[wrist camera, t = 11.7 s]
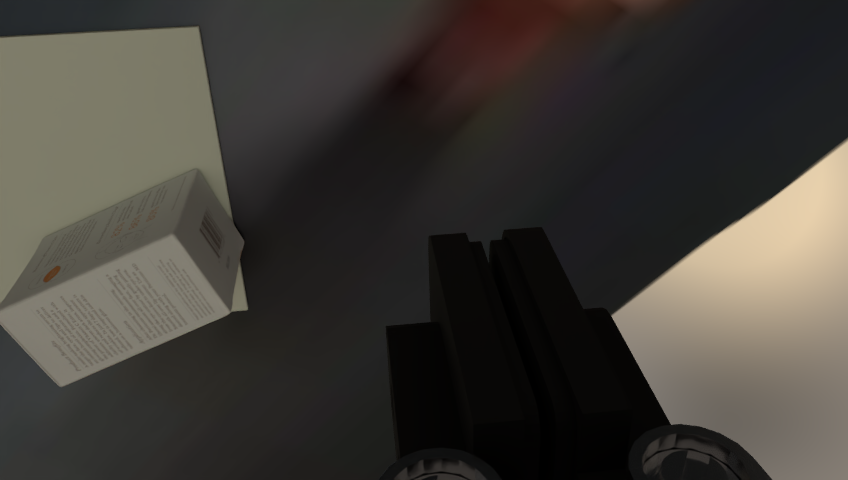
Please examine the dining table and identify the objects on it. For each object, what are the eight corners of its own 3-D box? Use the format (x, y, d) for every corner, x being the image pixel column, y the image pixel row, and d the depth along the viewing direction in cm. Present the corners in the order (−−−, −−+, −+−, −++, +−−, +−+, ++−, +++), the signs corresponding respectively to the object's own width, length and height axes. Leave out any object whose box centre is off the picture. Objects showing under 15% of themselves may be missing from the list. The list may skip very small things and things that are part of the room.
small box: (248, 240, 46) (99, 305, 48) (197, 164, 43) (41, 236, 45) (232, 317, 39) (58, 392, 41) (171, 233, 37) (-13, 316, 38)
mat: (199, 25, 40) (198, 27, 40) (248, 307, 49) (247, 309, 49) (-100, 41, 39) (-102, 43, 39) (6, 327, 48) (4, 330, 48)
